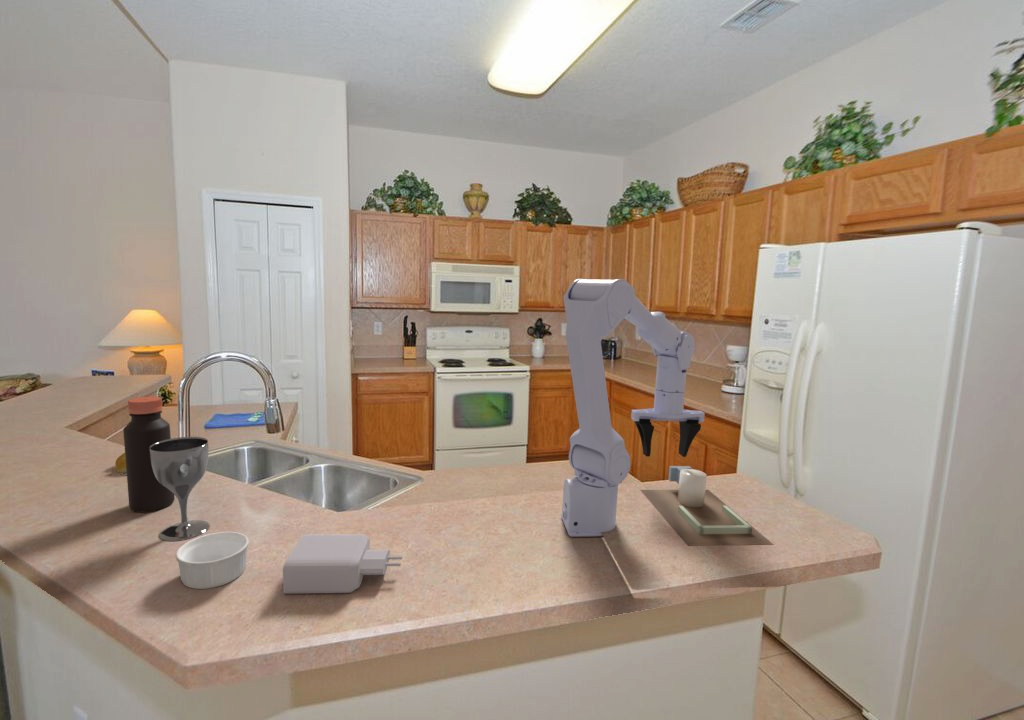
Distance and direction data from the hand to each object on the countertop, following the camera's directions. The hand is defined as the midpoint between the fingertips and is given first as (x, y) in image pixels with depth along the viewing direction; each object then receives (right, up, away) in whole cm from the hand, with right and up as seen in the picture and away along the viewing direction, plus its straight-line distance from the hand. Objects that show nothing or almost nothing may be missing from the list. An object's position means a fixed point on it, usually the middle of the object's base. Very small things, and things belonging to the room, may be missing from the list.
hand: (664, 455), depth 101 cm
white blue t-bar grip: (+5, -9, 0) cm, 10 cm away
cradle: (+6, -10, -10) cm, 16 cm away
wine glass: (-86, -9, -19) cm, 88 cm away
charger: (-55, -12, -30) cm, 64 cm away
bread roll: (-114, -5, +9) cm, 115 cm away
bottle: (-98, -8, -10) cm, 99 cm away
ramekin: (-74, -11, -30) cm, 81 cm away
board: (+4, -11, -7) cm, 14 cm away
